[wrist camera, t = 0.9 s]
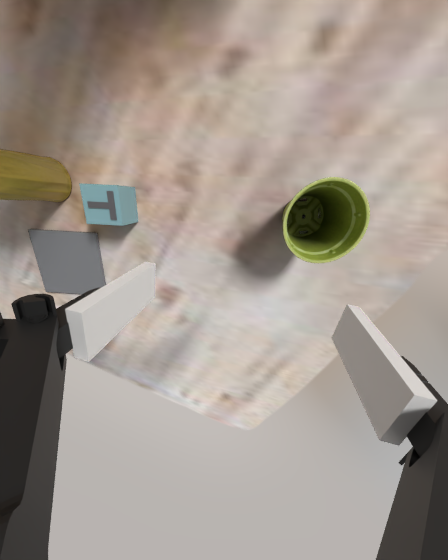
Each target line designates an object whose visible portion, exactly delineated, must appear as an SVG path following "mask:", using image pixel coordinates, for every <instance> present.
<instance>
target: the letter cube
mask: <svg viewBox="0 0 448 560" xmlns="http://www.w3.org/2000/svg"><path fill="white" fill-rule="evenodd" d="M80 190H81V195H82V200H83V206H84V211H85V216H86V222H87V224H102V225H120V226H123V225H128V224H132V223H136V222H138V213H137V203H136V193H135V187H127V186H119V185H99V184H80Z"/></svg>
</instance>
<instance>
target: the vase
mask: <svg viewBox="0 0 448 560" xmlns="http://www.w3.org/2000/svg"><path fill="white" fill-rule="evenodd" d="M71 187H72V185H71V179H70V176H69V174H68V172H67V170H66V169H65V168H64V166H63V165H62V164H61V163H59V162H58V161H56V160H55V159H52V158H50V157H40V156H36V155H31V154H26V153H20V152H14V151H8V150H2V149H0V200H42V201H52V202H61V201H64V200H65V199H66V198H67V197H68V196H69V195H70V192H71Z"/></svg>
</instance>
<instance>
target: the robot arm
mask: <svg viewBox="0 0 448 560" xmlns="http://www.w3.org/2000/svg"><path fill="white" fill-rule="evenodd" d="M155 276H156V264H155V263H150V262H144V263H142V264H140V265H139V266H137V267H135V268H134V269H132V270H130V271H129V272H127V273H125V274H124V275H122V276H120V277H118V278H117V279H115V280H113V281H112V282H110V283H108V284H107V285H105V286H103V287H102V288H100V287H98V288H95V289H92V290H89V291H87V292H85V293H84V294H82V295H81V296H78V297H77V298H75V299H73V300H71V301H69V302H68V303H66V304H64V305H62V306H61V307H59V308H57V309H56V307H55V302H54V298H53V296H51V295H48V294H33V295H28V296H24V297H21V298H19V299H17V300H15V301H14V302H13V303H12V307H13V311H14V314H15V317H16V319H3V318H2V315H1V313H0V560H48V542H49V532H50V522H51V512H52V502H53V492H54V481H55V471H56V461H57V451H58V440H59V431H60V420H61V411H62V400H63V390H64V380H65V370H66V355H65V354H66V353H67V352H69V351H70V350H71V349H73V354H74V358H76V359H80V360H83V361H87V362H89V361H90V360H91V359H92V358H93V357H94V356H96V355H97V354H98V353H99V352H100V351H101V350H102V349H103V348H104V347H105V346H106V345H107V344H108V343H109V342H110V341H111V340H112V339H113V338H114V337H115V336H116V335H117V334H118V333H119V332H120V331H121V330H122V329H123V328H124V327H125V326H126V325H127V324H128V323H129V322H130V321H131V320H132V319H133V318H134V317H136V316H137V315H138V314H139V313H140V312H141V311H142V310H143V309H144V308H145V307H146V306H147V305H148V304H149V303H150V302H151V301H152V300H153V299H154V298H155ZM332 340H333V342H334V344H335V346H336V348H337V350H338V353H339V355H340V357H341V359H342V361H343V363H344V365H345V367H346V370H347V372H348V374H349V376H350V378H351V380H352V383H353V385H354V387H355V389H356V391H357V393H358V395H359V398H360V400H361V402H362V404H363V406H364V408H365V410H366V412H367V415H368V417H369V419H370V421H371V423H372V425H373V427H374V430H375V431H376V434H377V436H378V438H379V440H381V441H384V442H388V443H392V444H395V445H400V444H401V443H402V441H403V440H404V439H405V438H406V437H408V439H409V440H410V442H411V444H412V445H413V447H412V449H411V450H410V451H409V452H408V453H407V454H406V455H405V456H404V457H403V458H402V460H401V461H400V462H399V463H400V464H401V465H403V464H404V463H405V464H404V468H403V471H402V474H401V478H400V481H399V484H398V488H397V491H396V495H395V498H394V501H393V504H392V508H391V511H390V514H389V518H388V521H387V524H386V528H385V531H384V534H383V538H382V542H381V544H380V548H379V551H378V554H377V558H376V560H448V404H447V403H446V402H445V400H444V399H443V398H442V397H441V396H440V395H439V394H438V392H437V391H436V390H435V389H434V388H433V387H432V386H431V384H429V383H428V381H427V380H426V379H425V377H424V376H422V375H421V373H420V372H419V371H418V369H417V368H416V367H415V366H414V365H413V364H412V363H410V362H409V361H408V360H407V359H405V358H404V357H403V356H400V355H399V354H398V353H397V351H396V350H395V349H394V348H393V347H392V345H391V344H390V343H389V342H388V341H387V340H386V338H385V337H384V336H383V335H382V333H381V332H380V331H379V330H378V329H377V328H376V326H375V325H374V324H373V323H372V322H371V320H370V319H369V318H368V317H367V316H366V314H365V313H364V312H363V311H362V310H361V308H360V307H357V306H353V305H348V304H347V306H346V308H345V310H344V312H343V314H342V316H341V319H340V321H339V323H338V325H337V327H336V329H335V332H334V334H333V336H332Z"/></svg>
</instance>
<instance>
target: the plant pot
mask: <svg viewBox="0 0 448 560" xmlns="http://www.w3.org/2000/svg"><path fill="white" fill-rule="evenodd" d="M303 198H306V199H307V201H300V202H298V200H300V199H303ZM318 209H320V212H321V215H320V218H318ZM302 215H305V218H304V219H303V218H302ZM287 218H288V222H289V223H288V224H287ZM369 218H370V207H369V203H368V200H367V197H366V195H365V193H364V192H363V191H362V189H361V188H360V187H359V186H357V185H356V184H355V183H353V182H352V181H350V180H347V179H344V178H339V177H329V178H324V179H320V180H317V181H315V182H313V183H311V184H309V185H307V186H306V187H304V188H303V189H302V190H301V191H299V192H298V193H297V194H296V196H295V197H294V198H293V199H292V200H291V201H290V202H289V203H288V204H287V206H286V207H285V209H284V212H283V216H282V221H283V235H284V239H285V242H286V244H287V246H288V248H289V249H290V250H291V252H292V253H293V254H294V255H295V256H297V257H298V258H300V259H302V260H304V261H307V262H310V263H326V262H331V261H334V260H337V259H339V258H341V257H343V256H344V255H346V254H348V253H349V252H350V251H351V250H352V249H354V248H355V247H356V246H357V244H358V243H359V242H360V241H361V239H362V238H363V236H364V234H365V232H366V230H367V227H368V224H369ZM306 230H308V232H307V233H303V234H300V233H299V231H306Z"/></svg>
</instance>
